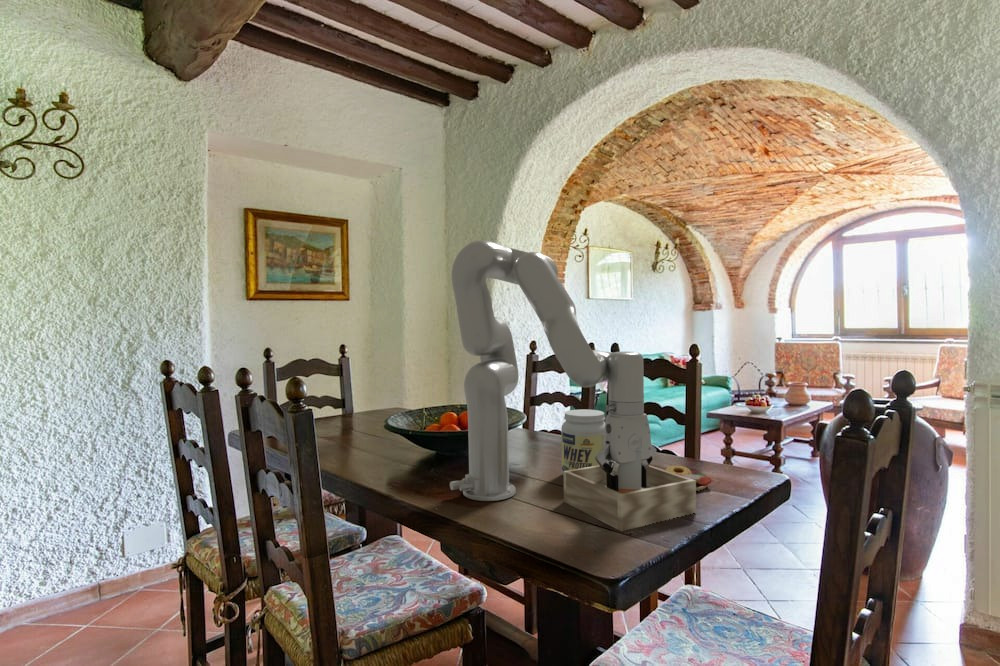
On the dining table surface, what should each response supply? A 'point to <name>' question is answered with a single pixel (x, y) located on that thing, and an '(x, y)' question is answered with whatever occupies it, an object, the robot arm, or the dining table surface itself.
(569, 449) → the supplement tub
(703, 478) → the toy food set
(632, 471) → the skincare box
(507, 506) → the dining table surface
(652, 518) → the socket box
